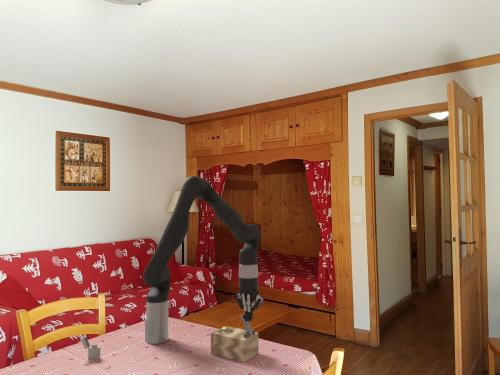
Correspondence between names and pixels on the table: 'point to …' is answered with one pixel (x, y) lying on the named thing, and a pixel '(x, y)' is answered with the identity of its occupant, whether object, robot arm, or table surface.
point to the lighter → (91, 349)
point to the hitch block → (234, 344)
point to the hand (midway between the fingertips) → (248, 320)
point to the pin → (226, 329)
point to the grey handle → (247, 325)
